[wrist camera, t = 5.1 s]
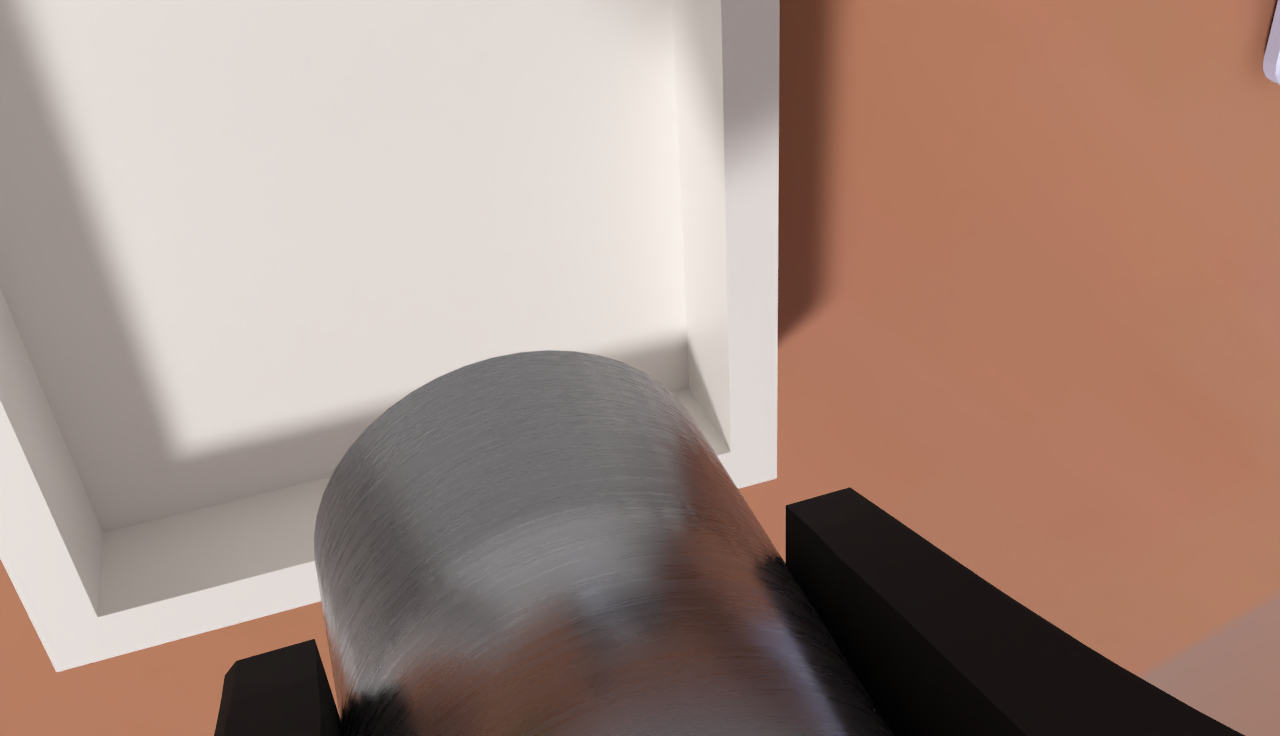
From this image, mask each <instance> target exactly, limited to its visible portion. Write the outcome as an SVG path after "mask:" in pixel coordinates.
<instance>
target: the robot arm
mask: <svg viewBox="0 0 1280 736" xmlns="http://www.w3.org/2000/svg"><path fill="white" fill-rule="evenodd" d="M1263 71H1264V73H1265V76H1266V77H1267V78H1268V79H1269V80H1271V81H1273V82H1275V83H1277V84H1279V85H1280V0H1278V2H1277V6H1276V10H1275V15H1274V19H1273V23H1272V27H1271V31H1270V35H1269V39H1268V43H1267V48H1266V52H1265V56H1264V62H1263ZM786 566H787V567H788V569H789V570H790V572H791V574H792V575H793V577H794V578H795V580H796V581H797V583H798V585H799V586H800V588H801V589H802V591H803V592H804V594H805V596H806V597H807V599H808V600H809V602H810V604H811V605H812V607H813V608H814V610H815V611H816V613H817V615H818V616H819V618H820V619H821V621H822V622H823V624H824V626H825V627H826V629H827V630H828V632H829V633H830V635H831V637H832V638H833V640H834V641H835V643H836V645H837V646H838V648H839V649H840V651H841V652H842V654H843V656H844V657H845V659H846V660H847V662H848V663H849V665H850V667H851V668H852V670H853V671H854V673H855V674H856V676H857V678H858V679H859V681H860V682H861V684H862V686H863V687H864V689H865V690H866V692H867V693H868V695H869V697H870V698H871V700H872V701H873V703H874V704H875V706H876V708H877V709H878V711H879V712H880V714H881V715H882V717H883V719H884V720H885V722H886V723H887V725H888V727H889V728H890V730H891V731H892V733H893V734H894V736H1244V735H1242V734H1240V733H1239V732H1237V731H1235V730H1233V729H1231V728H1229V727H1227V726H1225V725H1223V724H1222V723H1220V722H1218V721H1216V720H1214V719H1212V718H1210V717H1209V716H1207V715H1205V714H1203V713H1201V712H1199V711H1197V710H1196V709H1194V708H1192V707H1190V706H1188V705H1187V704H1185V703H1183V702H1181V701H1179V700H1178V699H1176V698H1174V697H1172V696H1171V695H1169V694H1167V693H1166V692H1164V691H1162V690H1160V689H1159V688H1157V687H1155V686H1153V685H1152V684H1150V683H1148V682H1146V681H1145V680H1143V679H1141V678H1140V677H1138V676H1136V675H1134V674H1133V673H1131V672H1129V671H1127V670H1126V669H1124V668H1122V667H1120V666H1119V665H1117V664H1115V663H1114V662H1112V661H1110V660H1109V659H1107V658H1105V657H1104V656H1102V655H1101V654H1099V653H1097V652H1096V651H1094V650H1092V649H1091V648H1089V647H1087V646H1086V645H1084V644H1083V643H1081V642H1079V641H1078V640H1076V639H1075V638H1073V637H1072V636H1070V635H1069V634H1067V633H1065V632H1064V631H1062V630H1061V629H1059V628H1058V627H1056V626H1054V625H1053V624H1051V623H1050V622H1048V621H1047V620H1045V619H1044V618H1042V617H1040V616H1039V615H1037V614H1036V613H1034V612H1033V611H1031V610H1029V609H1028V608H1026V607H1025V606H1023V605H1022V604H1020V603H1019V602H1017V601H1015V600H1014V599H1012V598H1011V597H1009V596H1008V595H1006V594H1005V593H1003V592H1002V591H1000V590H999V589H997V588H996V587H994V586H993V585H991V584H990V583H988V582H987V581H985V580H984V579H982V578H981V577H979V576H978V575H977V574H975V573H974V572H972V571H971V570H969V569H968V568H966V567H965V566H963V565H962V564H960V563H959V562H957V561H956V560H955V559H953V558H952V557H950V556H949V555H947V554H946V553H944V552H943V551H941V550H940V549H938V548H937V547H936V546H934V545H933V544H931V543H930V542H928V541H927V540H925V539H924V538H923V537H921V536H920V535H918V534H917V533H915V532H914V531H912V530H911V529H910V528H908V527H907V526H905V525H904V524H902V523H901V522H900V521H898V520H897V519H895V518H894V517H892V516H891V515H889V514H888V513H886V512H885V511H884V510H882V509H881V508H879V507H878V506H876V505H875V504H873V503H872V502H870V501H869V500H867V499H866V498H864V497H863V496H862V495H860V494H859V493H857V492H856V491H854V490H853V489H851V488H846V489H843V490H839V491H836V492H832V493H829V494H825V495H821V496H818V497H814V498H811V499H807V500H804V501H800V502H797V503H793V504H790V505H786ZM214 736H343V733H342V726H341V720H340V717H339V714H338V711H337V708H336V705H335V702H334V698H333V695H332V692H331V689H330V686H329V683H328V680H327V676H326V673H325V670H324V667H323V664H322V661H321V658H320V655H319V651H318V648H317V645H316V642H315V639H313V640H309V641H305V642H302V643H298V644H295V645H291V646H288V647H284V648H281V649H277V650H274V651H270V652H267V653H263V654H260V655H256V656H252V657H249V658H245V659H242V660H238V661H236V662H235V663H234V664H233V666H232V667H231V668H230V670H229V671H228V672H227V674H226V675H225V678H224V685H223V692H222V698H221V704H220V710H219V715H218V719H217V724H216V729H215V734H214Z"/></svg>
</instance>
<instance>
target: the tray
mask: <svg viewBox="0 0 1280 736" xmlns="http://www.w3.org/2000/svg"><path fill="white" fill-rule="evenodd" d="M779 30H780V0H0V559H1V561H2V563H3V565H4V567H5V569H6V571H7V573H8V575H9V577H10V579H11V581H12V583H13V585H14V587H15V589H16V591H17V593H18V595H19V597H20V599H21V601H22V603H23V605H24V607H25V609H26V611H27V613H28V615H29V617H30V620H31V622H32V624H33V626H34V628H35V630H36V632H37V634H38V636H39V638H40V640H41V642H42V644H43V646H44V648H45V650H46V652H47V654H48V656H49V658H50V660H51V662H52V664H53V666H54V668H55V670H56V672H59V671H63V670H67V669H70V668H74V667H78V666H82V665H85V664H89V663H93V662H96V661H100V660H104V659H108V658H111V657H115V656H119V655H122V654H126V653H130V652H134V651H137V650H141V649H145V648H148V647H152V646H156V645H160V644H163V643H167V642H171V641H174V640H178V639H182V638H186V637H189V636H193V635H197V634H200V633H204V632H208V631H212V630H215V629H219V628H223V627H226V626H230V625H234V624H238V623H241V622H245V621H249V620H252V619H256V618H260V617H264V616H267V615H271V614H275V613H278V612H282V611H286V610H290V609H293V608H297V607H301V606H304V605H308V604H312V603H316V602H319V601H321V596H320V590H319V584H318V577H317V571H316V565H315V558H314V532H315V524H316V517H317V513H318V509H319V506H320V503H321V499H322V496H323V493H324V491H325V489H326V487H327V485H328V482H329V480H330V478H331V476H332V474H333V472H334V470H335V469H336V467H337V466H338V464H339V462H340V461H341V459H342V458H343V456H344V455H345V453H346V452H347V450H348V449H349V448H350V447H351V445H352V444H353V443H354V442H355V441H356V440H357V438H358V437H359V436H360V435H361V434H362V433H363V432H364V430H365V429H366V428H367V427H368V426H369V425H370V424H372V423H373V422H374V421H375V420H376V419H377V418H378V417H379V416H380V415H382V414H383V413H384V412H385V411H386V410H387V409H388V408H390V407H391V406H393V405H394V404H395V403H397V402H398V401H400V400H401V399H402V398H404V397H405V396H406V395H408V394H409V393H411V392H412V391H414V390H416V389H418V388H420V387H421V386H423V385H425V384H427V383H428V382H430V381H432V380H434V379H436V378H438V377H440V376H442V375H445V374H447V373H449V372H452V371H454V370H456V369H459V368H461V367H463V366H466V365H470V364H473V363H476V362H480V361H483V360H486V359H489V358H493V357H498V356H504V355H509V354H514V353H520V352H532V351H545V350H555V351H576V352H582V353H588V354H594V355H600V356H604V357H607V358H610V359H614V360H617V361H620V362H623V363H626V364H628V365H630V366H632V367H634V368H637V369H639V370H641V371H643V372H645V373H647V374H648V375H650V376H651V377H653V378H654V379H656V380H657V381H659V382H660V383H662V384H663V385H664V386H665V387H666V388H667V389H669V390H670V391H671V392H672V393H673V394H674V395H675V396H676V397H677V398H678V399H679V400H680V401H681V403H682V404H683V405H684V407H685V408H686V409H687V410H688V412H689V413H690V414H691V416H692V417H693V419H694V421H695V422H696V424H697V425H698V427H699V428H700V430H701V432H702V433H703V435H704V436H705V438H706V439H707V441H708V443H709V444H710V446H711V447H712V449H713V451H714V452H715V454H716V455H717V457H718V458H719V460H720V462H721V463H722V465H723V466H724V468H725V469H726V471H727V473H728V474H729V476H730V477H731V479H732V480H733V482H734V484H735V485H736V487H737V488H738V489H739V488H743V487H746V486H750V485H754V484H757V483H761V482H765V481H769V480H772V479H776V478H777V356H778V193H779Z"/></svg>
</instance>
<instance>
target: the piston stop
mask: <svg viewBox="0 0 1280 736" xmlns="http://www.w3.org/2000/svg"><path fill="white" fill-rule="evenodd" d="M314 558H315V565H316V571H317V577H318V584H319V590H320V596H321V602H322V608H323V615H324V621H325V627H326V633H327V640H328V646H329V652H330V658H331V664H332V671H333V677H334V683H335V689H336V695H337V702H338V708H339V714H340V720H341V726H342V733H343V736H894V734H893V733H892V731H891V730H890V728H889V727H888V725H887V723H886V722H885V720H884V719H883V717H882V715H881V714H880V712H879V711H878V709H877V708H876V706H875V704H874V703H873V701H872V700H871V698H870V697H869V695H868V693H867V692H866V690H865V689H864V687H863V686H862V684H861V682H860V681H859V679H858V678H857V676H856V674H855V673H854V671H853V670H852V668H851V667H850V665H849V663H848V662H847V660H846V659H845V657H844V656H843V654H842V652H841V651H840V649H839V648H838V646H837V645H836V643H835V641H834V640H833V638H832V637H831V635H830V633H829V632H828V630H827V629H826V627H825V626H824V624H823V622H822V621H821V619H820V618H819V616H818V615H817V613H816V611H815V610H814V608H813V607H812V605H811V604H810V602H809V600H808V599H807V597H806V596H805V594H804V592H803V591H802V589H801V588H800V586H799V585H798V583H797V581H796V580H795V578H794V577H793V575H792V574H791V572H790V570H789V569H788V567H787V566H786V564H785V562H784V561H783V559H782V558H781V556H780V555H779V553H778V551H777V550H776V548H775V547H774V545H773V544H772V542H771V540H770V539H769V537H768V536H767V534H766V533H765V531H764V529H763V528H762V526H761V525H760V523H759V521H758V520H757V518H756V517H755V515H754V514H753V512H752V510H751V509H750V507H749V506H748V504H747V503H746V501H745V499H744V498H743V496H742V495H741V493H740V492H739V490H738V488H737V487H736V485H735V484H734V482H733V480H732V479H731V477H730V476H729V474H728V473H727V471H726V469H725V468H724V466H723V465H722V463H721V462H720V460H719V458H718V457H717V455H716V454H715V452H714V451H713V449H712V447H711V446H710V444H709V443H708V441H707V439H706V438H705V436H704V435H703V433H702V432H701V430H700V428H699V427H698V425H697V424H696V422H695V421H694V419H693V417H692V416H691V414H690V413H689V412H688V410H687V409H686V408H685V407H684V405H683V404H682V403H681V401H680V400H679V399H678V398H677V397H676V396H675V395H674V394H673V393H672V392H671V391H670V390H669V389H667V388H666V387H665V386H664V385H663V384H662V383H660V382H659V381H657V380H656V379H654V378H653V377H651V376H650V375H648V374H647V373H645V372H643V371H641V370H639V369H637V368H634V367H632V366H630V365H628V364H626V363H623V362H620V361H617V360H614V359H610V358H607V357H604V356H600V355H594V354H588V353H582V352H576V351H555V350H545V351H532V352H520V353H514V354H509V355H504V356H498V357H493V358H489V359H486V360H483V361H480V362H476V363H473V364H470V365H466V366H463V367H461V368H459V369H456V370H454V371H452V372H449V373H447V374H445V375H442V376H440V377H438V378H436V379H434V380H432V381H430V382H428V383H427V384H425V385H423V386H421V387H420V388H418V389H416V390H414V391H412V392H411V393H409V394H408V395H406V396H405V397H404V398H402V399H401V400H400V401H398V402H397V403H395V404H394V405H393V406H391V407H390V408H388V409H387V410H386V411H385V412H384V413H383V414H382V415H380V416H379V417H378V418H377V419H376V420H375V421H374V422H373V423H372V424H370V425H369V426H368V427H367V428H366V429H365V430H364V432H363V433H362V434H361V435H360V436H359V437H358V438H357V440H356V441H355V442H354V443H353V444H352V445H351V447H350V448H349V449H348V450H347V452H346V453H345V455H344V456H343V458H342V459H341V461H340V462H339V464H338V466H337V467H336V469H335V470H334V472H333V474H332V476H331V478H330V480H329V482H328V485H327V487H326V489H325V491H324V493H323V496H322V499H321V503H320V506H319V509H318V513H317V517H316V524H315V532H314Z"/></svg>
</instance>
